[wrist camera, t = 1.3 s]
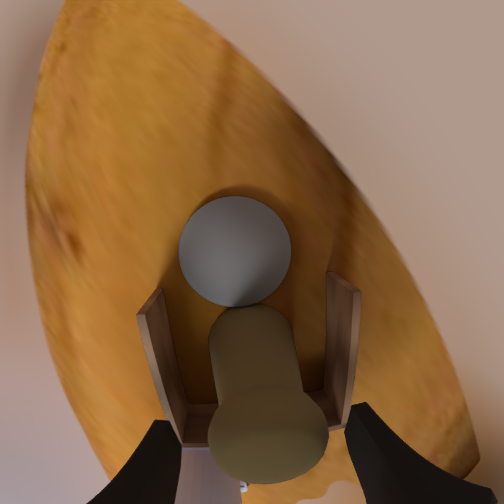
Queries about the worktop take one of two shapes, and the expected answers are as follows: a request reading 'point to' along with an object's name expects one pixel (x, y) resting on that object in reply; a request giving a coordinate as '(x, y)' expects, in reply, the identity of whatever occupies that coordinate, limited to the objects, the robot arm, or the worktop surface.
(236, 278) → the coaster
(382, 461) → the robot arm
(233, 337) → the pepper mill
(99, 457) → the worktop surface
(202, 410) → the open wooden enclosure
